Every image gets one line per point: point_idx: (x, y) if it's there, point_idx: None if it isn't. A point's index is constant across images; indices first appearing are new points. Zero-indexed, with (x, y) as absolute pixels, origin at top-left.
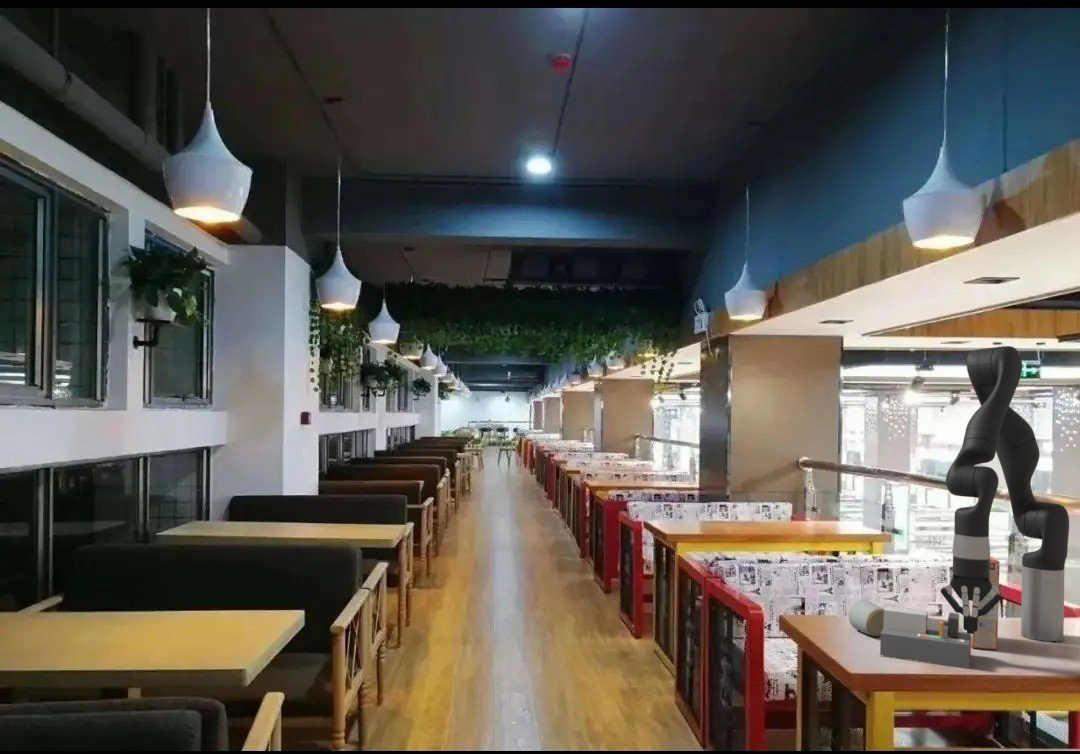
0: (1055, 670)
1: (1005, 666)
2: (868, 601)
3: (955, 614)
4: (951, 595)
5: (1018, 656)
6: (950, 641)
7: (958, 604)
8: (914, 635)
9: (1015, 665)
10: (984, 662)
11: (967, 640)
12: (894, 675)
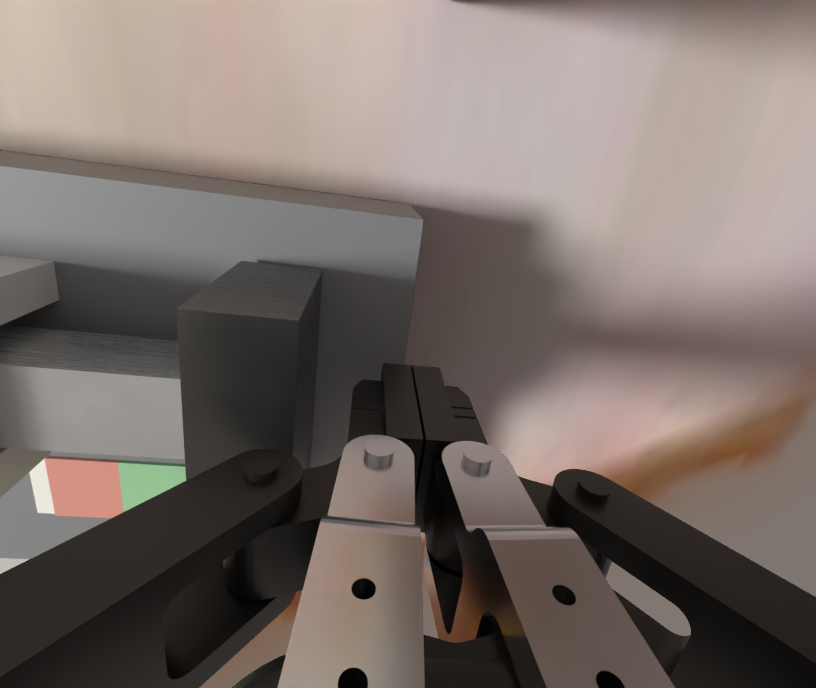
0: (789, 331)
1: (558, 366)
2: None
3: (253, 374)
4: (48, 681)
5: (707, 92)
6: None
7: (254, 538)
8: (16, 503)
9: (616, 324)
10: (465, 337)
11: None
12: None
